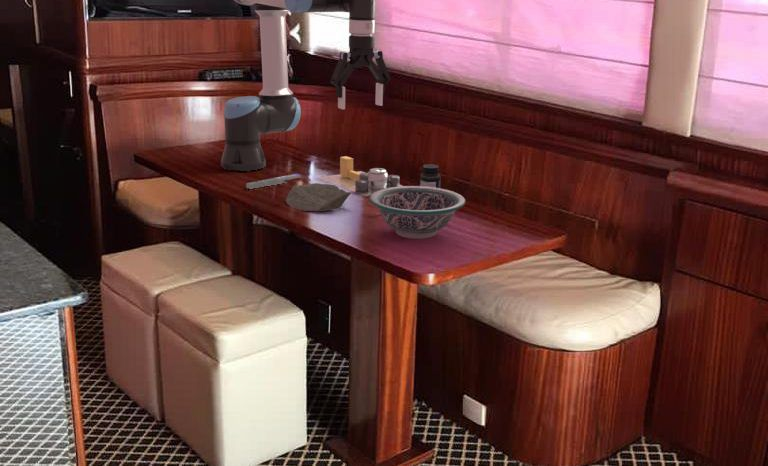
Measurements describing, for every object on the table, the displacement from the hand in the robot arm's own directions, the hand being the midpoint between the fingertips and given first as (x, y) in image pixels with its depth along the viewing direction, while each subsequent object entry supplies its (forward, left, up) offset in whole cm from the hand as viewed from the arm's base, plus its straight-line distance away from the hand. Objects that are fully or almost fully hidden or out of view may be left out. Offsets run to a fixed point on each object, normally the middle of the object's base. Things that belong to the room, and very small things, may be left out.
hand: (360, 106), depth 255 cm
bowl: (+43, -12, -26) cm, 52 cm away
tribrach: (-4, +4, -26) cm, 27 cm away
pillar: (-20, -18, -27) cm, 38 cm away
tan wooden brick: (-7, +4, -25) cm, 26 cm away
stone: (+7, -20, -26) cm, 34 cm away
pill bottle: (+22, +10, -26) cm, 36 cm away
